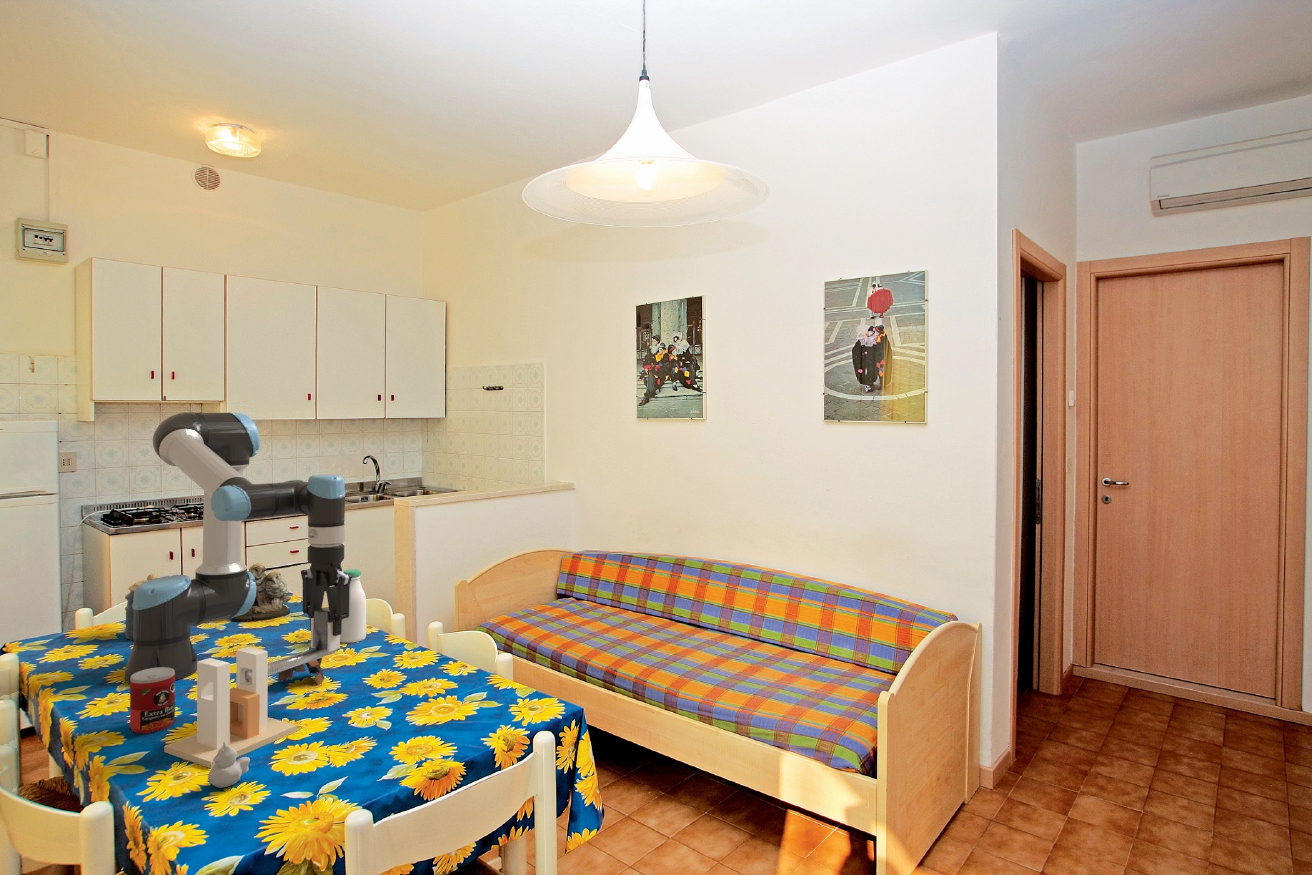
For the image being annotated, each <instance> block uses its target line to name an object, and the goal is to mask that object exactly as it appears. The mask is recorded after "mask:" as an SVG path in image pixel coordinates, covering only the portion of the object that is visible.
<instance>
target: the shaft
mask: <svg viewBox="0 0 1312 875" xmlns="http://www.w3.org/2000/svg"><path fill="white" fill-rule="evenodd" d="M336 615H337V614H336ZM328 620H331V619H330V612H329V606H327V607H326V606H325V607H322V608H319V609H316V610H314V648H312V649H309V650H305V651H301V652H302V653H300V652H298V653H299V654H298V653H296V655H295V654H292V655H291V656H287V657H284V658H281V659H278V660H275V661H272V662H269V663H268V677H269V676H271V675H275V674H278V672H281V671H284V670H287V669H290V668H293V667H296V666H298V665H301V664H304V665H305V663H307V662H310V661H313V660H316V659H319V658H324V657H327V656H331V655H334V654H335V653H336V652H337V649H336V650H333V651H328ZM245 680H246V681H247V682H252V670H251V669H250V670H247V671H246V672H245Z"/></svg>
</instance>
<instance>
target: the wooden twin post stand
mask: <svg viewBox="0 0 1312 875" xmlns="http://www.w3.org/2000/svg"><path fill="white" fill-rule="evenodd" d="M235 652H236V655H235V656H236V657H235V659H236V661H235V662H236V663H235V664H236V667H235V668H236V675H235V676H236V677H235V679H236V680H235V681H236V684H235V685H236V686H235V688H237V689H241V690H245V691H248V692H252V693H256V694H260V710H259V735H257V736H254V737H252V738H249V739H245V738H242V737H239V736H236V735H233V734H230V688H231V662H228V661H223V660H219V659H215V658H212V657H209V658H205V659H202V660H198V662H197V671H196V672H197V673H196V676H197V677H196V678H197V679H196V684H197V685H196V689H197V690H196V694H197V695H196V698H197V700H196V710H197V712H196V721H197V722H196V729H197V730H196V733H195V734H191V735H190V736H187V737H184V738H181V739H178V740H176V741H173V742H170V743H169V744H166V745H164V748H163V749H164V750H163V751H164V753H166V754H169V755H172V756H174V757H177V758H180V759H183V760H185V761H188V762H192V763H194V764H197V765H199V766H204V767H206V768H209V769H210V770H211V769H212V768H213V766H214V765H215V762H214V761H213V759H214V757H215V756H216V755H217V754H218V751H219V749H220V748H221V747H222V746H223V742H225V743H226V744H227V745H228V746H230V747H232V748H234V749H235V750H236V752H237V754H238V756H237V758H239V757H241V756H244V755H245V754H249V753H250V752H252V751H255V750H257V749H260V748H262V747H264V746H267V745H269V744H271V743H274V742H275V741H278V740H280V739H282V738H284V737H285V738H286V737H287V736H290V735H291V734H294V733H296V732H298V725H297V724H293V723H290V722H287V721H283V720H280V719H276V718H273V717H269V716H268V698H269V697H268V693H269V692H268V690H269V689H268V677H269V676H268V661H269V660H268V658H269V657H268V653H269V651H267V650H263V649H259V648H255V647H251V646H246V647H242V648H240V649H239V648H238V649H236V651H235ZM250 669H251V670H252V682H247V681H246V680H245V672H246V671H247V670H250ZM238 721H241V722H243V705H241V704H238Z"/></svg>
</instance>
